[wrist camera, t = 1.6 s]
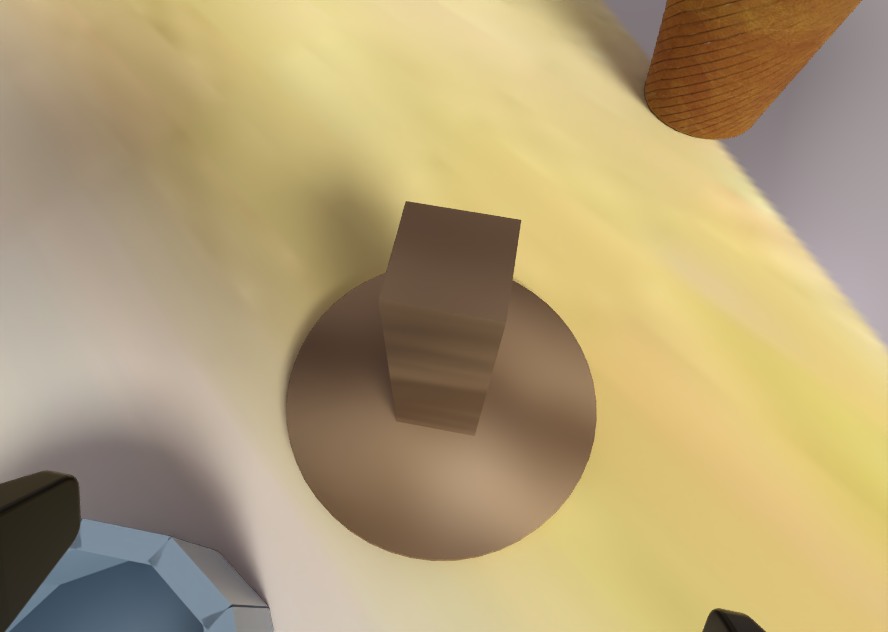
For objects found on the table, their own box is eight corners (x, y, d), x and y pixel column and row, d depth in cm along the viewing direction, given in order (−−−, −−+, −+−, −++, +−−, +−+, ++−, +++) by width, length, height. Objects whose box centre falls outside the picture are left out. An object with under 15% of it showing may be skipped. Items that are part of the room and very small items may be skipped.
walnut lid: (581, 592, 19) (715, 574, 10) (247, 524, 20) (104, 453, 11) (598, 297, 25) (693, 123, 16) (337, 253, 25) (291, 62, 17)
